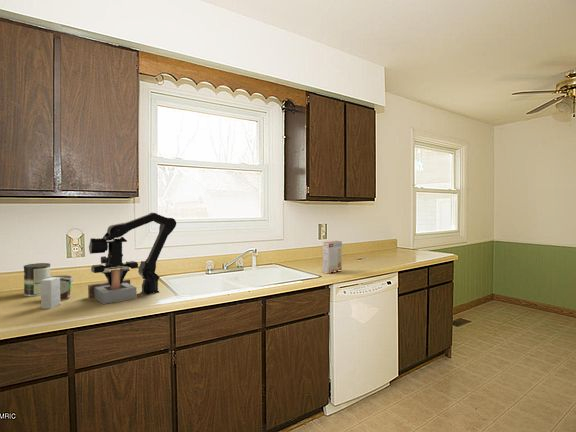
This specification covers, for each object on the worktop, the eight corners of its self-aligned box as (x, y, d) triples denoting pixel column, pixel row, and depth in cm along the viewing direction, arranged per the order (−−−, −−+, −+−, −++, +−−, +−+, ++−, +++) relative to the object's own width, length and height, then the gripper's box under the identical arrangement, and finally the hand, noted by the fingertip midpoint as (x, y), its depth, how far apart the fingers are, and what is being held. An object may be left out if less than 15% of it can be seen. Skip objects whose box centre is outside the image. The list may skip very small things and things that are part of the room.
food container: (79, 295, 154) (79, 275, 153) (70, 299, 147) (70, 277, 147) (52, 295, 153) (52, 274, 153) (43, 299, 147) (43, 277, 147)
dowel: (118, 291, 154) (118, 269, 153) (121, 293, 151) (121, 270, 151) (109, 293, 151) (109, 270, 151) (112, 295, 148) (112, 271, 148)
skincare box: (50, 304, 140) (50, 277, 139) (60, 304, 140) (60, 277, 140) (40, 308, 134) (40, 280, 133) (51, 308, 134) (50, 280, 134)
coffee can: (20, 297, 150) (19, 267, 150) (28, 291, 160) (28, 263, 159) (46, 295, 154) (46, 266, 153) (53, 290, 163) (53, 262, 163)
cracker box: (335, 270, 226) (335, 240, 226) (342, 271, 222) (342, 241, 221) (321, 272, 217) (322, 241, 216) (328, 274, 212) (329, 242, 212)
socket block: (126, 292, 161) (126, 282, 161) (136, 298, 151) (136, 287, 151) (94, 297, 151) (94, 287, 151) (103, 304, 141) (103, 292, 141)
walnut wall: (128, 290, 164) (128, 279, 163) (130, 291, 162) (130, 279, 162) (88, 297, 151) (88, 284, 151) (89, 298, 149) (89, 285, 149)
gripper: (130, 248, 163) (130, 279, 163) (87, 251, 149) (88, 285, 150) (138, 250, 155) (138, 283, 155) (94, 254, 142) (94, 289, 142)
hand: (115, 285), depth 151 cm, fingers closed on dowel, 4 cm apart
